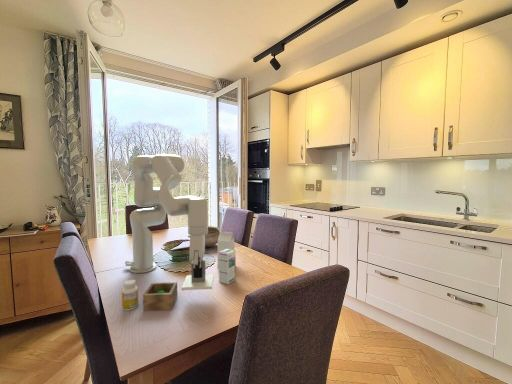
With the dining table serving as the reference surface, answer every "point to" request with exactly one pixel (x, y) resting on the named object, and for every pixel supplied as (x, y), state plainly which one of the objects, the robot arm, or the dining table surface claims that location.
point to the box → (160, 296)
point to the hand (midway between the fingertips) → (198, 275)
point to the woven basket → (211, 236)
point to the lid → (198, 280)
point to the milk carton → (225, 242)
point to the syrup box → (227, 266)
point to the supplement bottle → (129, 295)
